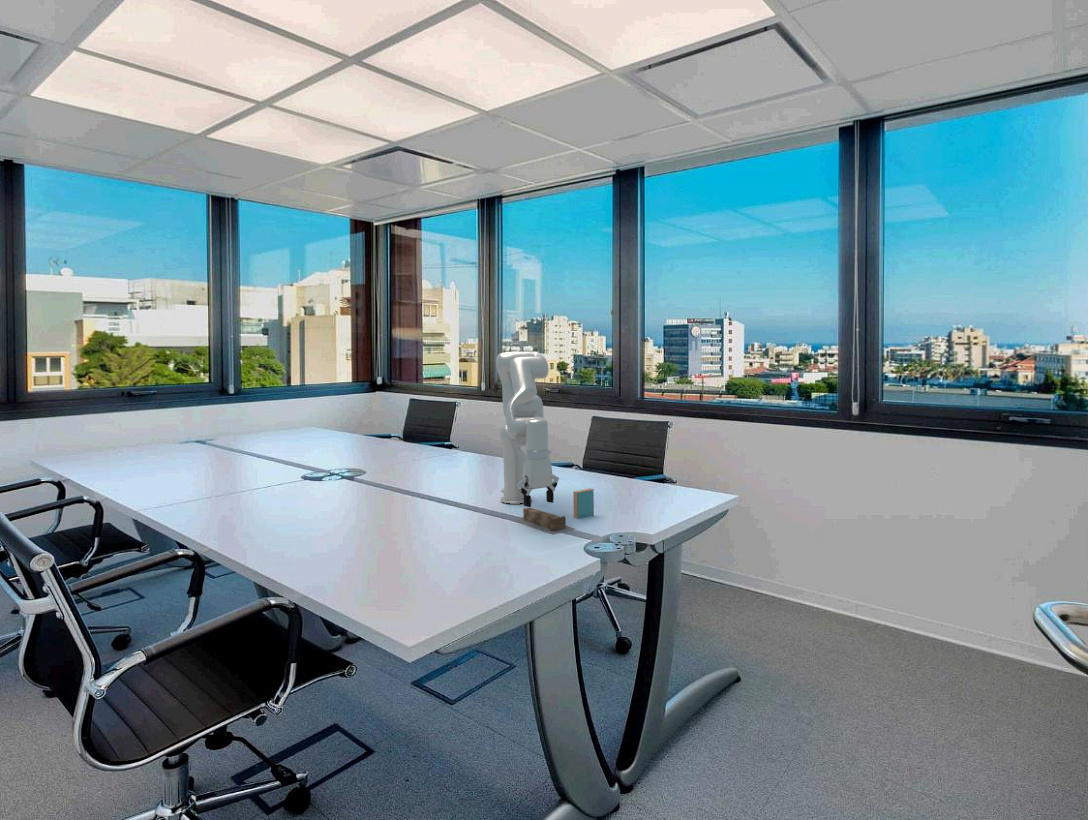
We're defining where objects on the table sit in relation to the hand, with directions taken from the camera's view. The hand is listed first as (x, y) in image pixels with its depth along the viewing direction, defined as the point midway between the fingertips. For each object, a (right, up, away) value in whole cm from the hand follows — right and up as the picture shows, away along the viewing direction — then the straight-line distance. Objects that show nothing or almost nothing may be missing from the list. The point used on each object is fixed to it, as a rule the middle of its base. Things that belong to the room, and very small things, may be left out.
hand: (538, 504), depth 224 cm
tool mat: (+1, -7, 0) cm, 8 cm away
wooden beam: (+1, -7, 0) cm, 7 cm away
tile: (+16, -6, +10) cm, 20 cm away
